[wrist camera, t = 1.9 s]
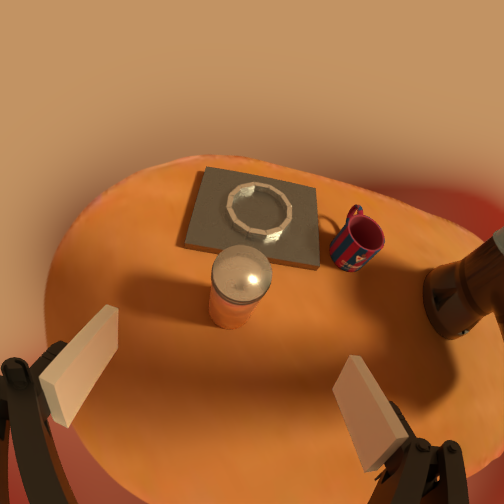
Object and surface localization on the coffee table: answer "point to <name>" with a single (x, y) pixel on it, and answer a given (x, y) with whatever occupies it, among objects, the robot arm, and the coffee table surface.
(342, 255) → the mug
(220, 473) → the coffee table surface
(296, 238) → the grey base plate
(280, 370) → the coffee table surface
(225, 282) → the disc
